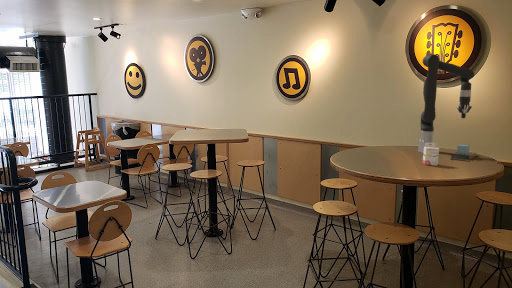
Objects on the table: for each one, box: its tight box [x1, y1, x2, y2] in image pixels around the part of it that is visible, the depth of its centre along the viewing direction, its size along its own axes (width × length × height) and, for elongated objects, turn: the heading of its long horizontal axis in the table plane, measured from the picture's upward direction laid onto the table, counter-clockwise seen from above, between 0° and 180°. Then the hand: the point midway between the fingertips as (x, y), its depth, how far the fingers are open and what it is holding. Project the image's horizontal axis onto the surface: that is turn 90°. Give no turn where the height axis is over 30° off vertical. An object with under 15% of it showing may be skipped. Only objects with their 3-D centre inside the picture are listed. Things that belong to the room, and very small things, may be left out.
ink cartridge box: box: [422, 142, 440, 166], centre depth 260 cm, size 9×5×15 cm, turn 84°
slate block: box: [456, 143, 470, 155], centre depth 278 cm, size 8×6×9 cm
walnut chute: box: [450, 151, 478, 163], centre depth 282 cm, size 23×12×4 cm, turn 138°
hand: (463, 118), depth 303 cm, fingers closed
